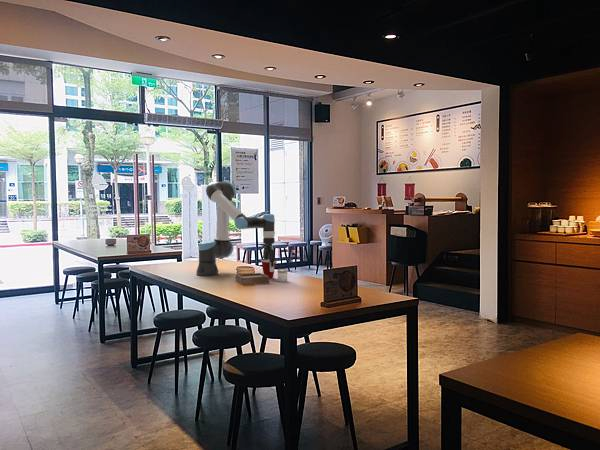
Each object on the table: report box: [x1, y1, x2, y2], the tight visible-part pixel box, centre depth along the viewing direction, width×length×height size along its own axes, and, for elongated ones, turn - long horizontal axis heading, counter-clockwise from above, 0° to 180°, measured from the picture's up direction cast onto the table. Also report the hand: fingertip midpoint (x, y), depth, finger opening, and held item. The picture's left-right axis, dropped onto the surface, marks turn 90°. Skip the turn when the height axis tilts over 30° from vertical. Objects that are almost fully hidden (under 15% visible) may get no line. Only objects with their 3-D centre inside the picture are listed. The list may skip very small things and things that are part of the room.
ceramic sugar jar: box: [277, 269, 288, 283], centre depth 326 cm, size 7×7×7 cm
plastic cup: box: [260, 259, 278, 280], centre depth 338 cm, size 11×11×12 cm
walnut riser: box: [235, 272, 270, 286], centre depth 323 cm, size 17×17×4 cm
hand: (269, 270), depth 338 cm, fingers closed on plastic cup, 11 cm apart
